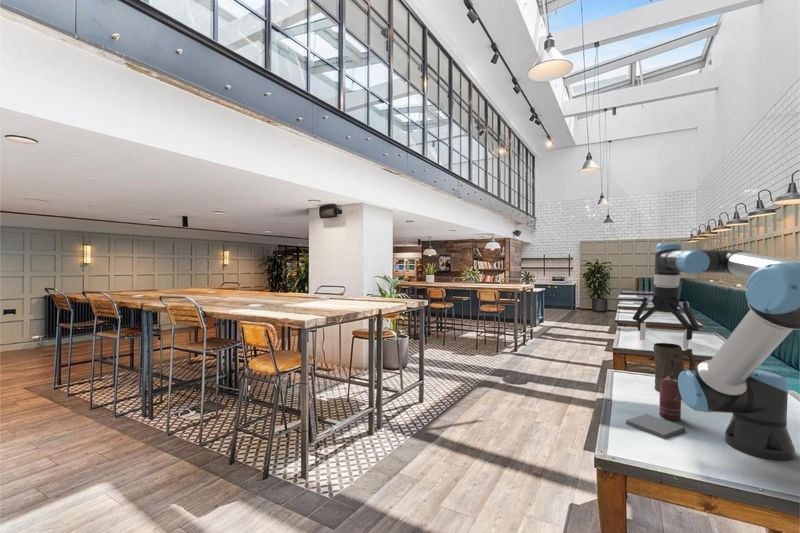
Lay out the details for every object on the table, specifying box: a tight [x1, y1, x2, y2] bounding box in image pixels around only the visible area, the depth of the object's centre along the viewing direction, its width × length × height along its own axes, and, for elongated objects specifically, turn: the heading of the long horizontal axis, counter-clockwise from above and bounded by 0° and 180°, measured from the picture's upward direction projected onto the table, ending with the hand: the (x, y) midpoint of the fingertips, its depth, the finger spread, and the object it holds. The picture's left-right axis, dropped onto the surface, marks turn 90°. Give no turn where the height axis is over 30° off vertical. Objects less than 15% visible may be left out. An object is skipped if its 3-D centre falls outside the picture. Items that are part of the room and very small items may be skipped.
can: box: [659, 376, 682, 422], centre depth 132 cm, size 6×6×14 cm
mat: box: [625, 413, 686, 439], centre depth 125 cm, size 12×12×1 cm
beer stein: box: [653, 342, 697, 393], centre depth 159 cm, size 15×11×20 cm
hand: (663, 343), depth 136 cm, fingers open, 13 cm apart
